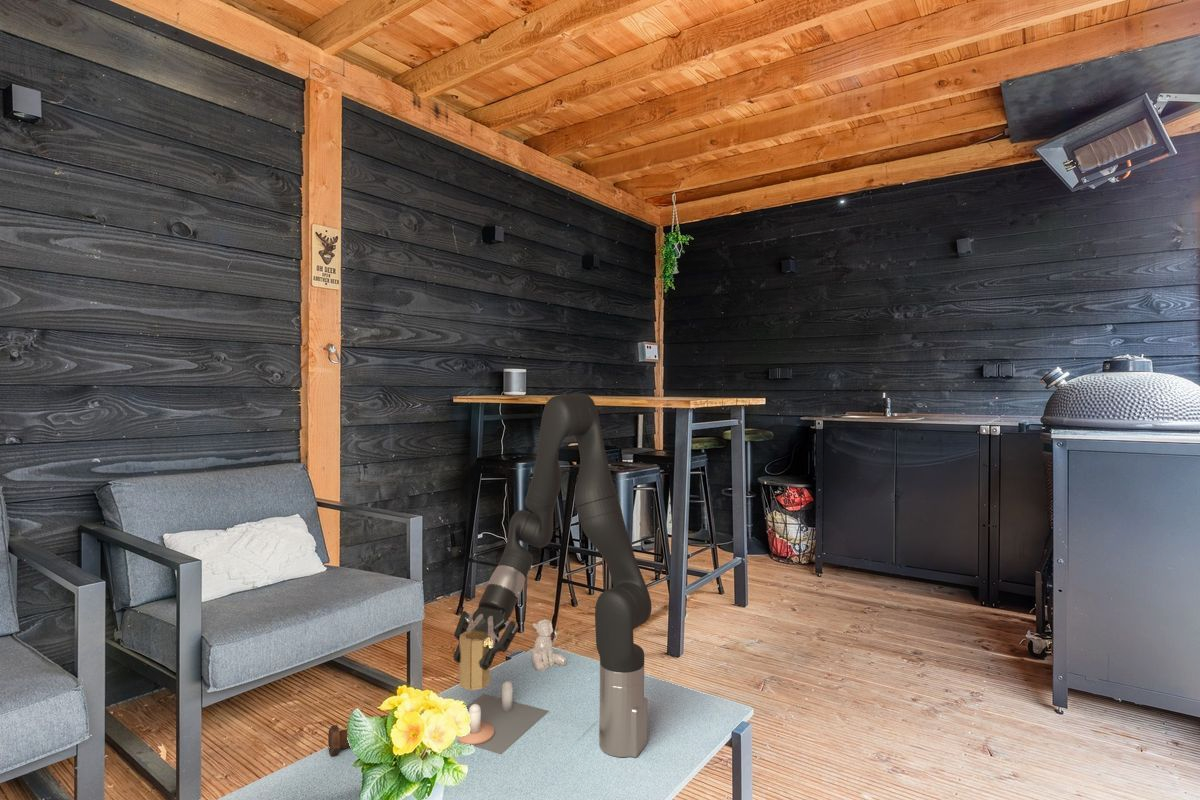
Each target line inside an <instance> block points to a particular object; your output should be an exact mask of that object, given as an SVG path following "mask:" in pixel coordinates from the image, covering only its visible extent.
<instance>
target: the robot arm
mask: <svg viewBox="0 0 1200 800" xmlns="http://www.w3.org/2000/svg"><path fill="white" fill-rule="evenodd" d="M540 421H541V422H540V427H539V436H538V443H537V451H536V457H535V458H536V459H535V464H534V469H533V473H532V477H531V479H530V483H529V486H528V489H527V492H526V496H525V499H524V504H525V507H526V508H527V510H523V509H520V510H518V511H516V512H514V513H513V515H512V516H511V518H510V521H509V525H508V532H507V539H506V544H505V547H504V551H503V553H502V556H501V557H500V559H499V562H498V563H497V566H496V568H495V569H494V571H493V572H492V574H491V576H490V579H489V580H488V583H487V584H486V587H485V589H484V591H483V592H482V596H481V598H480V599H479V603H478V608H477V609H476V610H474V612H473V613H471V612H470V613H469V612H467V611H466V610H463V611H462V612H461V614H460V615H459V619H458V622H457V625H456V628H455V630H454V633H453V637H454V638H455V639H456V640H457V641H458V644H457V646H456V649H455V651H454V653H453V661H454V662H455V663H456V664H459V663H460V634H462V633H464V632H466V631H473V630H477V631H482V632H486V633H488V635H490V642H489V649H487V650H486V652H485V654H484V656H483V658H482V660H481V663H480V667H481V668H482V669H483V670H487V668H489V667H490V668H491V666H492V664H493V660H494V658H495V656H496V654H498V653H500V652H502V653H506V652H507V651H508V649H509V647H510V645H511V643H512V642H513V640H514V638H515V636H516V634H517V632H519V628H520V627H519V625H518V624H517V623H516V622H515V621H514V620H511V621H510V620H509V618H510V617H511V616H512V614H513V611H514V609H515V606H517V605H516V604H517V602H518V600H519V598H520V596H521V593H522V591H523V587H524V584H525V581H526V579H527V576H528V574H529V572H530V569H531V567H532V565H533V561H534V557H533V554H532V553H531V551H529V550H528V549H526V548H525V547H523V546H522V545H521V544H520V542H523V543H525V544H527V545H530V546H532V547H535V548H538V549H541V548H544V547H547V546H548V545H549V543H550V542H551V541H552V538H553V534H554V512H555V511H554V510H555V506H556V503H557V499H558V497H559V493H560V492H561V488H562V482H563V475H562V470H561V466H560V463H559V462H560V461H559V452H560V451H559V450H560V448H561V446H562V443H563V441H564V439H565V438H568V437H575V439H576V442H577V447H578V452H579V457H580V458H579V459H580V462H579V469H578V474H577V477H576V482H575V487H574V498H573V499H574V504H575V507H576V508H575V509H576V512H577V516H578V519H579V523H580V526H581V529H582V530H583V532H584V533H583V534H585V536H586V538H587V539H588V540H589V542H590V543H591V544H592V545H593V546H594V547H595V549H596V550H597V551H598V553H600V555H601V556H602V558H603V560H604V561H605V564H606V566H607V568H608V571H609V573H610V574H609V575H610V578H611V581H612V582H611V583H612V587H610V588H609V589H606V590H605V591H603V592H602V593H600V594H599V596H598V597H597V599H596V602H595V607H594V624H595V625H594V627H595V645H596V649H597V653H598V656H599V715H598V716H599V718H598V719H599V725H598V727H599V732H598V740H599V741H598V743H599V745H598V746H599V748H600V750H601V751H602V752H604V753H605V754H607V755H609V756H612V757H616V758H627V757H628V758H630V757H632V758H637V757H638V756H639V754H640V753H641V752H642V750H643V749H644V748H645V746H646V745H647V744H648V698H647V697H645V651H644V649H643V648H642V647H641V646H640V645H638V644H636V643H634V629H637V628H638V627H640V626H642V625H643V624H645V623H646V622H648V620H649V619H650V617H651V615H652V609H653V607H652V606H653V605H652V600H651V596H650V593H649V589H648V587H647V584H646V582H645V579H644V578H643V577H644V576H643V574H642V572H641V569H640V566H639V564H638V562H637V559H636V555H635V552H634V549H633V547H632V543H631V540H630V537H629V534H628V530H627V526H626V523H625V520H624V514H623V512H622V508H621V503H620V500H619V497H618V493H617V491H616V487H615V484H614V481H613V476H612V474H611V473H612V472H611V469H610V465H609V461H608V457H607V453H606V449H605V447H606V446H605V442H604V437H603V431H602V426H601V420H600V416H599V412H598V408H597V406H596V403H595V401H594V399H592V397H591V396H589V395H588V394H585V393H570V394H558V395H554V396H552V397H550V398H549V399H548V400H547V402H546V403H545V405H544V408H543V411H542V414H541V420H540ZM528 510H529V511H528ZM519 541H520V542H519ZM472 621H473V622H472ZM503 630H504V631H503ZM502 631H503V633H502V634H501V632H502Z"/></svg>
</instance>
